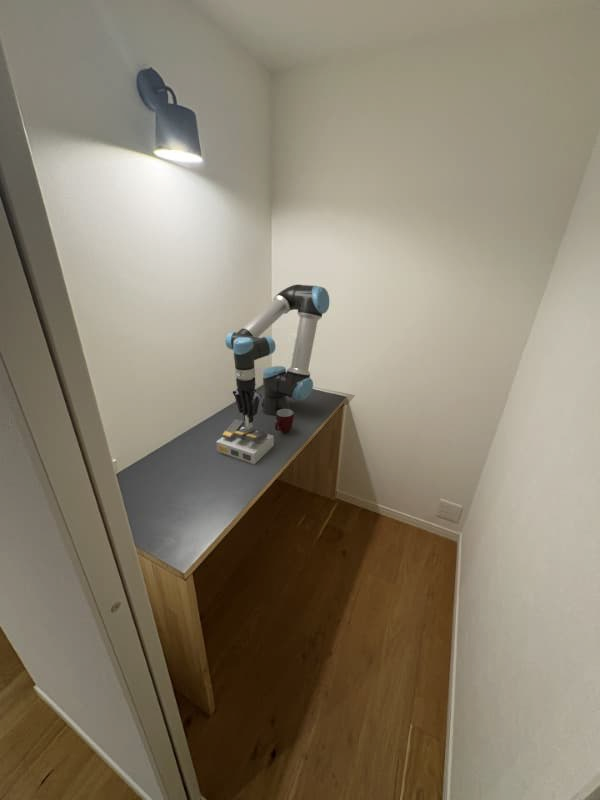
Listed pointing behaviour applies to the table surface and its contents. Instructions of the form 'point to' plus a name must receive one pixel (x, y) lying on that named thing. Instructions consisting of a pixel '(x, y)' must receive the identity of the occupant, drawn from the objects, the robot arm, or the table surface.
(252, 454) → the switch unit
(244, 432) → the rocker
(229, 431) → the rocker
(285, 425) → the mug
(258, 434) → the rocker
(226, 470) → the table surface
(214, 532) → the table surface
